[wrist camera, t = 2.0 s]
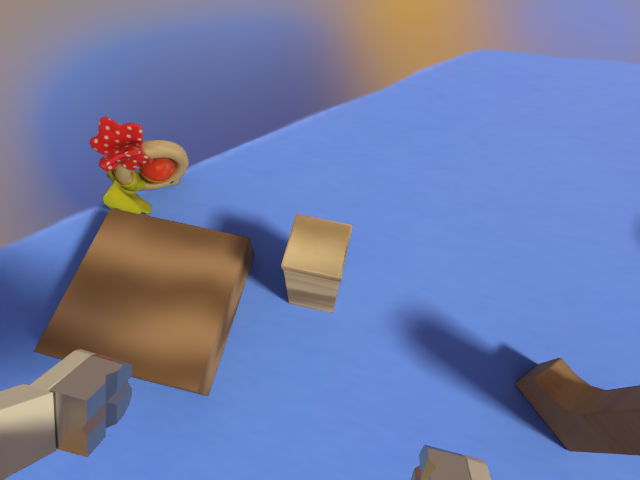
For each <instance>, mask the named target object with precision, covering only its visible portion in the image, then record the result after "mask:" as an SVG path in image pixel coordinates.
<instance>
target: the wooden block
mask: <svg viewBox="0 0 640 480" xmlns="http://www.w3.org/2000/svg"><path fill="white" fill-rule="evenodd" d="M515 385H516V386H517V387H518V389H519V390H520V391H521V392H522V394H523V395H524V396H525V397H526V399H527V400H528V401H529V402H530V404H531V405H532V406H533V407H534V409H535V410H536V411H537V412H538V414H539V415H540V416H541V417H542V419H543V420H544V421H545V422H546V424H547V425H548V426H549V427H550V429H551V430H552V431H553V432H554V433H555V435H556V436H557V437H558V438H559V440H560V441H561V442H562V443H563V445H564V446H565V447H566V448H567V450H569V451H576V452H593V453H611V454H626V455H640V385H639V386H632V387H625V388H619V389H612V390H603V389H600V388H597V387H593V386H590V385H589V384H588V383H586V382H585V381H584V380H582V379H581V378H580V377H578V376H577V375H576V374H575V373H574V372H573V371H572V370H571V369H570V367H569V366H568V365H567V364H566V363H565V362H564V361H563V359H561V358H557V359H554V360H551V361H547V362H544V363H541V364H538V365H536V366H535V367H534V368H533V369H531V370H530V371H529V372H528V373H526V374H525V375H524V376H523V377H521V378H520V379H519V380H517V381H516V383H515Z"/></svg>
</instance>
